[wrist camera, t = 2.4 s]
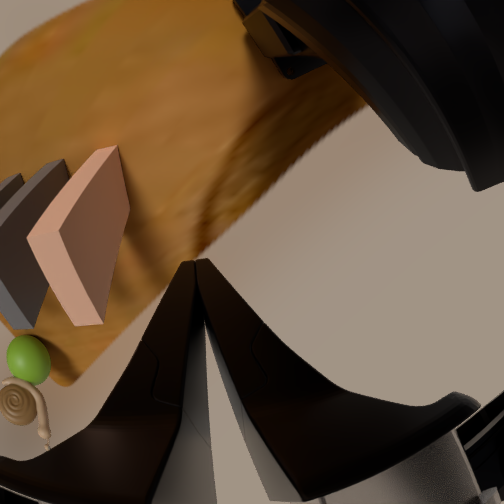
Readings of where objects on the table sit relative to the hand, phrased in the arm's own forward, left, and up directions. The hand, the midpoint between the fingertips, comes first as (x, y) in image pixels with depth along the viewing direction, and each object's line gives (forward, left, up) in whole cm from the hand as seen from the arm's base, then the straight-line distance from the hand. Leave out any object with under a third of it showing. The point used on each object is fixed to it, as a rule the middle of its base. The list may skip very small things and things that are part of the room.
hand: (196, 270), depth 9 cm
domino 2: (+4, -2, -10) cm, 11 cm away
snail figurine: (+25, +3, -10) cm, 27 cm away
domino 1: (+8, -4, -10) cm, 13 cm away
